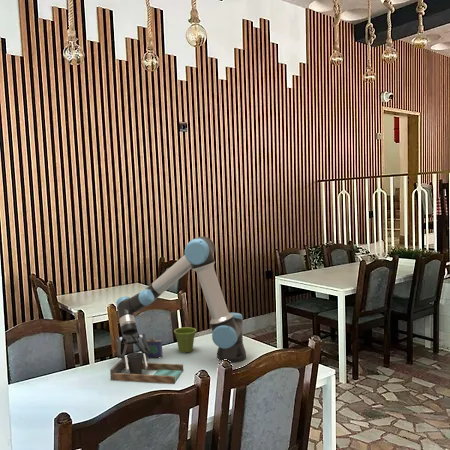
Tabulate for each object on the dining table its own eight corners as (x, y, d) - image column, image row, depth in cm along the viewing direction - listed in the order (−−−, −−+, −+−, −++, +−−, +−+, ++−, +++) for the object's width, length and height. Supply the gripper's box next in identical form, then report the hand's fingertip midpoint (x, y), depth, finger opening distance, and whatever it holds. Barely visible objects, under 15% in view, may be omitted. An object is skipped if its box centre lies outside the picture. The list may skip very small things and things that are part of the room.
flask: (162, 356, 258) (162, 336, 257) (161, 358, 255) (161, 338, 254) (145, 356, 258) (144, 336, 257) (144, 358, 255) (143, 338, 255)
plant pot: (172, 348, 270) (172, 328, 269) (193, 346, 273) (193, 326, 273) (177, 355, 259) (176, 334, 258) (199, 353, 262) (198, 332, 261)
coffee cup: (140, 378, 229) (140, 356, 228) (124, 377, 230) (123, 355, 229) (147, 371, 236) (146, 351, 236) (130, 370, 238) (130, 350, 237)
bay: (183, 370, 238) (183, 360, 237) (174, 383, 222) (173, 372, 221) (123, 367, 243) (123, 357, 242) (110, 380, 227) (110, 369, 227)
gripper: (148, 327, 250) (157, 369, 237) (106, 332, 242) (113, 376, 228) (150, 319, 245) (160, 361, 231) (107, 324, 237) (115, 368, 223)
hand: (137, 369), depth 230 cm, fingers closed on coffee cup, 8 cm apart
